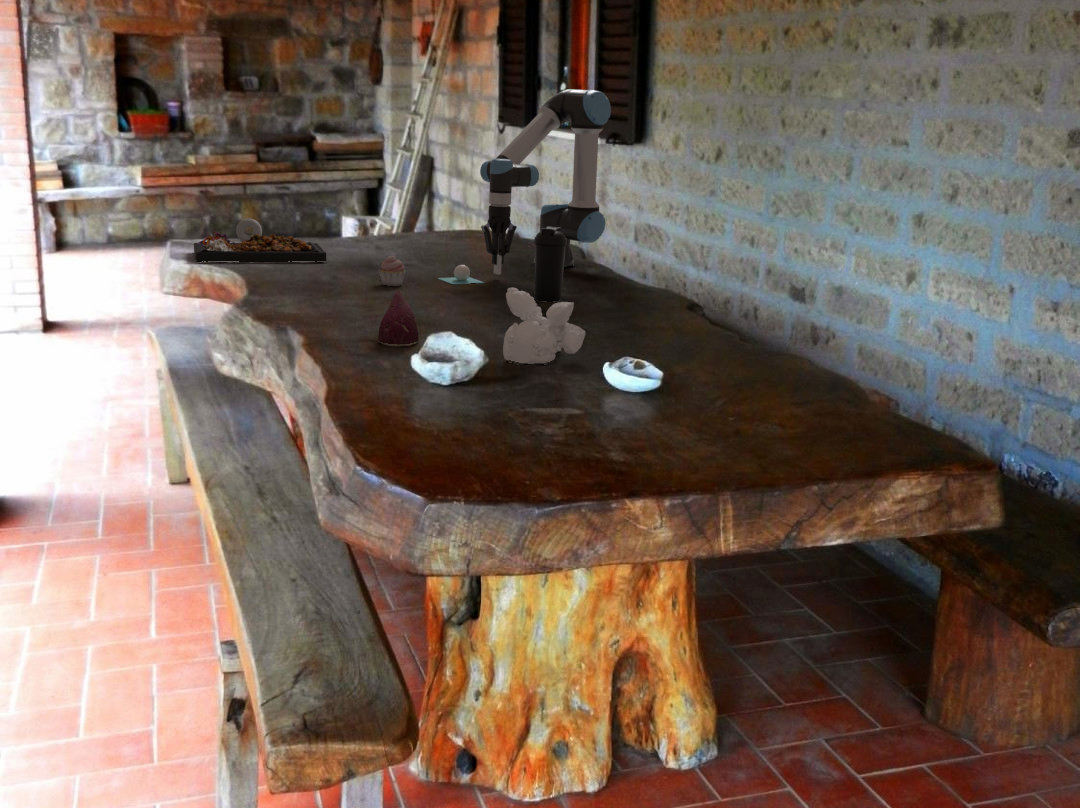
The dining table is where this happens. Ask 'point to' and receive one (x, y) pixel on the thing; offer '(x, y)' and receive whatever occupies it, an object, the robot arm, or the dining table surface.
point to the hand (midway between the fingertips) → (497, 273)
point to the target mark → (455, 281)
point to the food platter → (257, 249)
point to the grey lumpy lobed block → (539, 330)
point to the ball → (461, 272)
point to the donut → (244, 224)
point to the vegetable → (398, 323)
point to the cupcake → (392, 271)
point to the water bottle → (549, 264)
